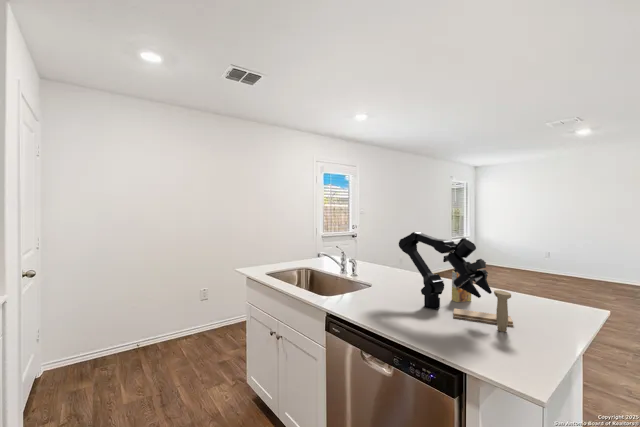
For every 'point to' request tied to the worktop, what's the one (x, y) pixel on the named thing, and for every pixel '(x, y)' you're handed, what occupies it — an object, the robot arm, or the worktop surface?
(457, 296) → the candy box
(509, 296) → the handle
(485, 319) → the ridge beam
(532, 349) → the worktop surface
